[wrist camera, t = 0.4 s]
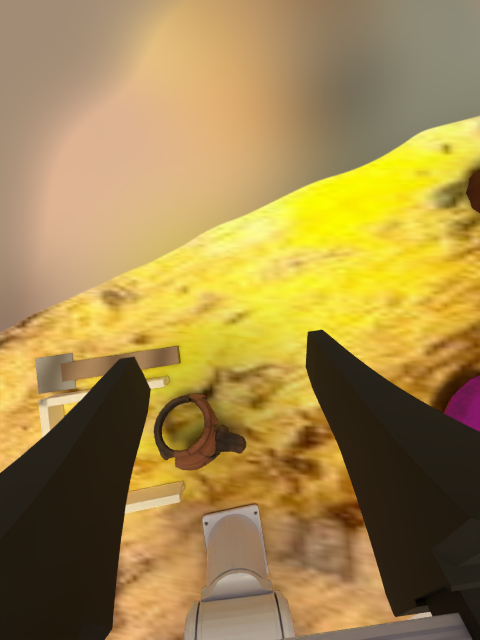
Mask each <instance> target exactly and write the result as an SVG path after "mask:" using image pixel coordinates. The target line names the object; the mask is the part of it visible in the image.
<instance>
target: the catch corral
mask: <svg viewBox="0 0 480 640" xmlns="http://www.w3.org/2000/svg"><path fill="white" fill-rule="evenodd" d="M146 381H147V383H148V385H149V387H150V389H154V388H160V387H164V386H166V385H167V384H168V383H169V378H168V376H164V377H158V378H153V379H147V380H146ZM90 390H91V389H88V390H82V391H76V392H70V393H64V394H58V395H53V396H50V397H47V398H44V399H41V400H39V410H40V419H41V428H42V437H44V436H45V435H46V434H47V433H48V432H49V431H50V430H51V429H52V428H53V427H54V426H55V425H56V424H57V423H58V422H59V421H61V420H62V419H63V418H64V410H63V404H67V403H73V402H79V401H81V399H82V398H83V397H84V396H85V395H86V394H87V393H88V392H89V391H90ZM183 490H184V485H183V481H180V482H175V483H170V484H165V485H160V486H155V487H150V488H145V489H140V490H135V491H130V492H128V496H127V502H126V508H125V513H130V512H135V511H140V510H144V509H149V508H154V507H159V506H164V505H169V504H173V503H178V502H180V501H181V497H182V494H183Z"/></svg>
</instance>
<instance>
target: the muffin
mask: <svg viewBox="0 0 480 640" xmlns="http://www.w3.org/2000/svg"><path fill="white" fill-rule="evenodd" d="M466 194H467V196H468V198H469V200H470V203H471V206H472V208H473V209H474V210H476V211H478V212H479V213H480V170H479V171H477V172H476V173H475V174H474V175H473V176H472V177H470V179H469V186H468V189H467V192H466Z"/></svg>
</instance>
